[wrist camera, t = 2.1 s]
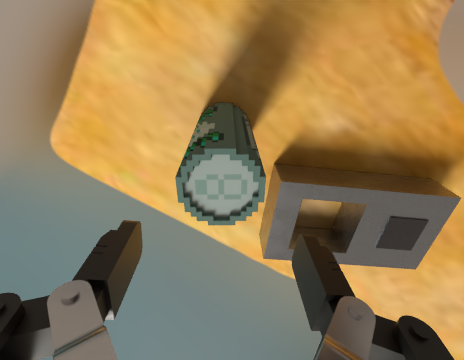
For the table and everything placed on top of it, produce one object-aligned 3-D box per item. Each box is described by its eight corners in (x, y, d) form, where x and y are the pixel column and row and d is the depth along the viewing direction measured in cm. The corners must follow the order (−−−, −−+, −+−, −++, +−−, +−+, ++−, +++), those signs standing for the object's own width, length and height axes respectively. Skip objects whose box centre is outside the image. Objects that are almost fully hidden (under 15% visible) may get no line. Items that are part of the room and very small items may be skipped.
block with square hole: (273, 163, 33) (281, 182, 28) (431, 178, 34) (462, 198, 30) (259, 234, 38) (263, 259, 34) (394, 244, 40) (416, 270, 35)
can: (197, 102, 29) (172, 148, 16) (249, 102, 29) (268, 148, 16) (200, 151, 32) (181, 225, 19) (247, 151, 32) (262, 224, 19)
